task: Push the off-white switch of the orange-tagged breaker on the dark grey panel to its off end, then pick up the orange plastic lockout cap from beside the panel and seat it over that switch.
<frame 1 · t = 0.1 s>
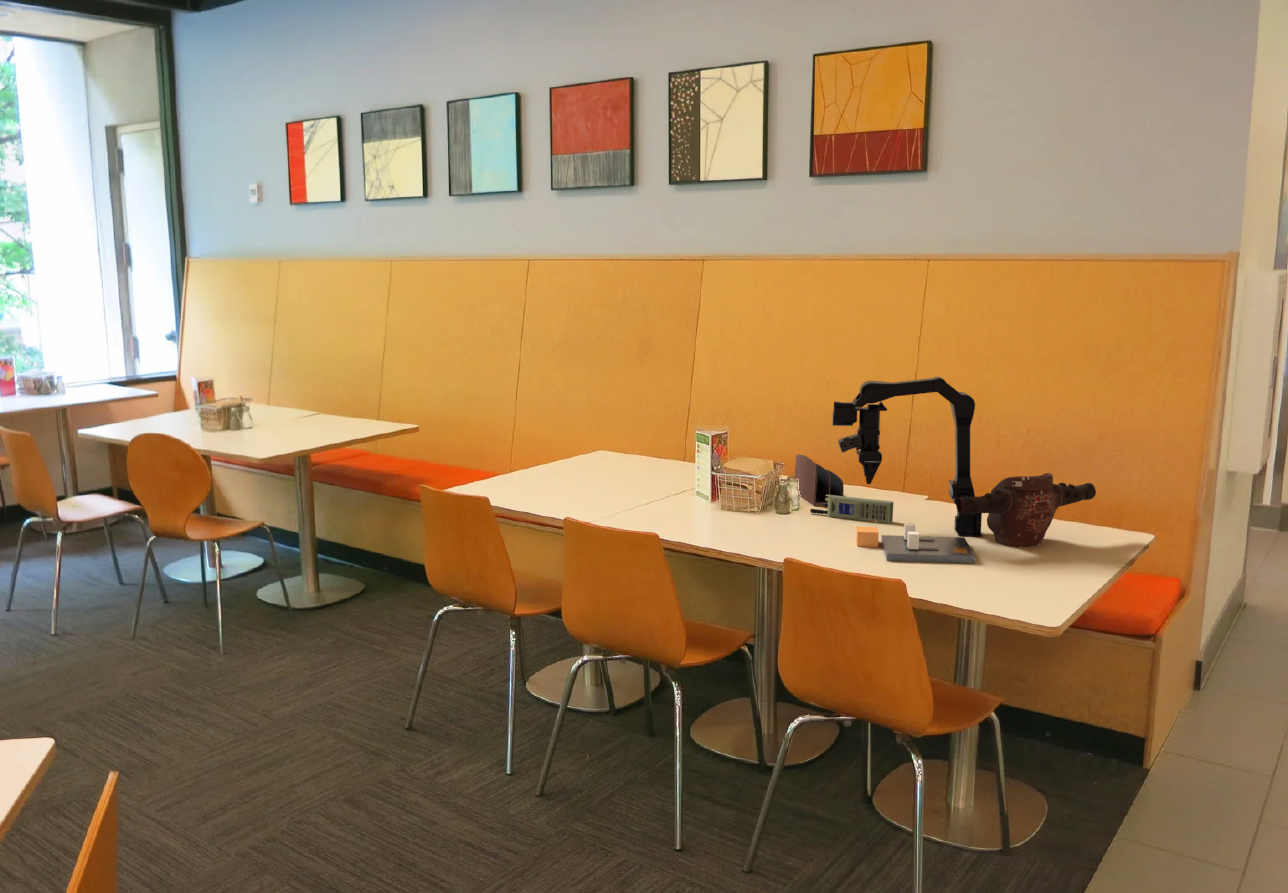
hand: (867, 480, 297), 15 cm above the table, tool pointing down, fingers open, 9 cm apart
lockout cap: (866, 543, 287), on the table
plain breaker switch: (909, 531, 282), point 4 cm above the table, slide at 0.0 cm
letter holder: (818, 499, 340), on the table
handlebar: (1023, 544, 285), on the table
handheld radio: (850, 519, 314), on the table
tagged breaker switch: (913, 540, 274), point 4 cm above the table, slide at 0.0 cm
breaker panel: (926, 552, 278), on the table
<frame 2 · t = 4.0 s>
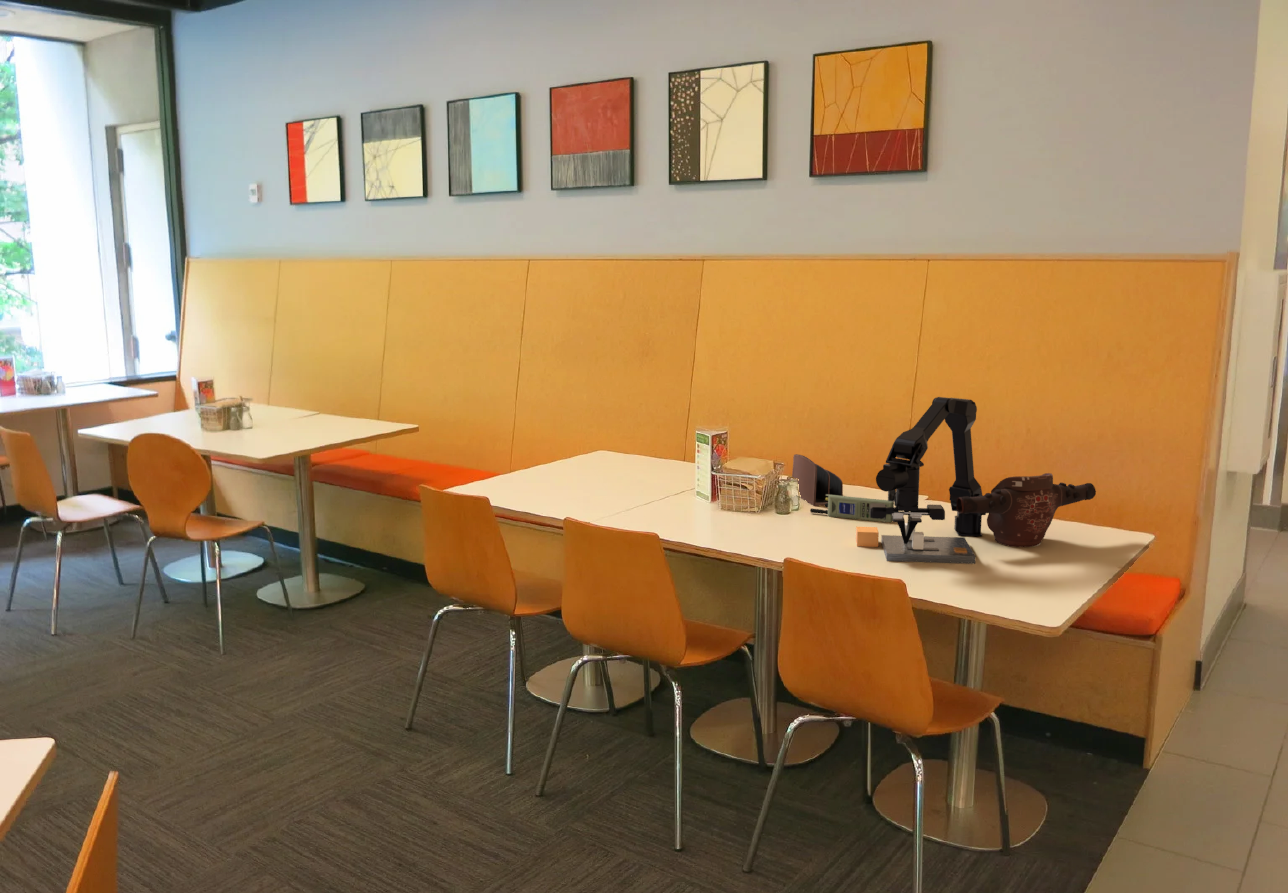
hand: (905, 543, 274), 3 cm above the table, tool pointing down, fingers closed
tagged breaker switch: (917, 540, 273), point 4 cm above the table, slide at 1.2 cm, touching gripper
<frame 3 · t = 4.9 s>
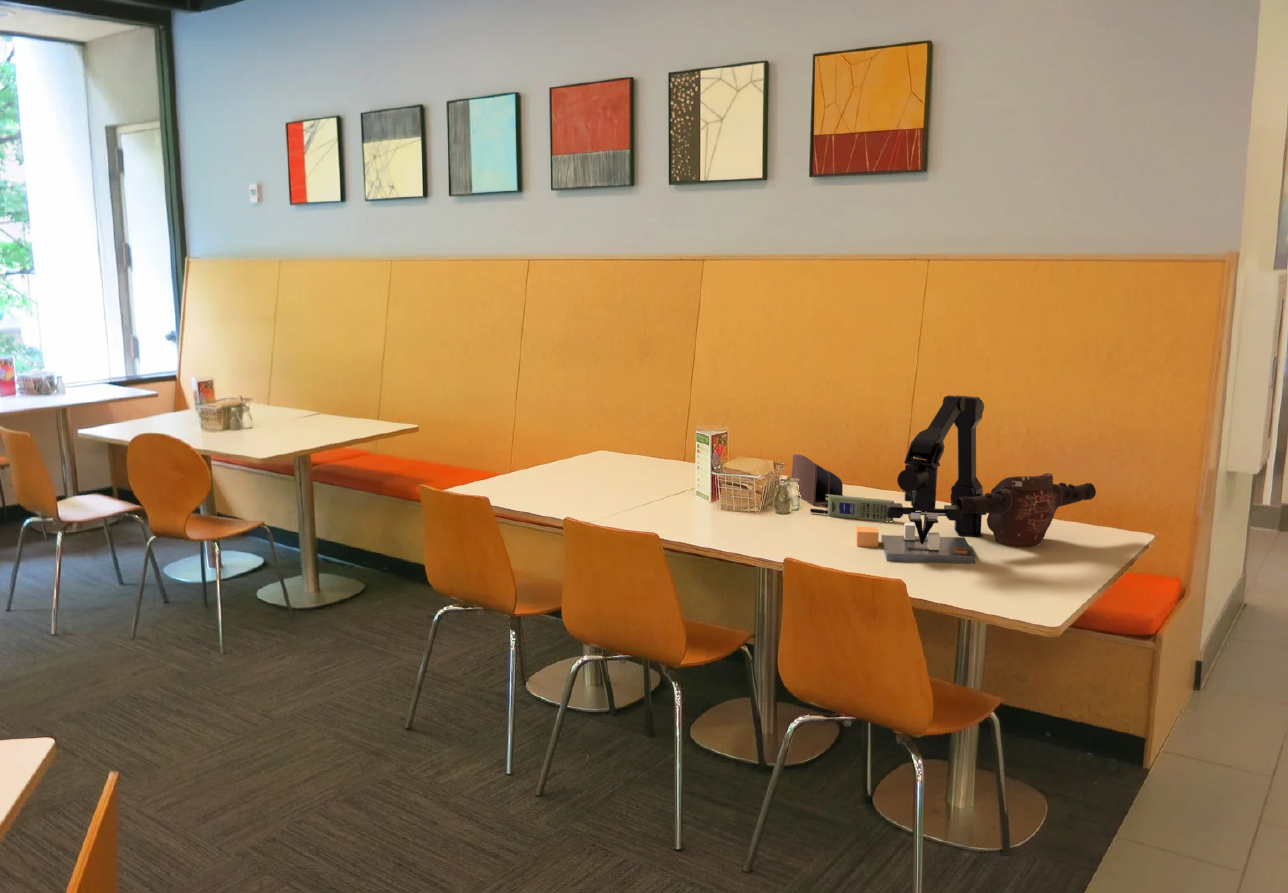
hand: (921, 543, 274), 3 cm above the table, tool pointing down, fingers closed
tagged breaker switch: (933, 541, 273), point 4 cm above the table, slide at 5.2 cm, touching gripper
everything else where it was.
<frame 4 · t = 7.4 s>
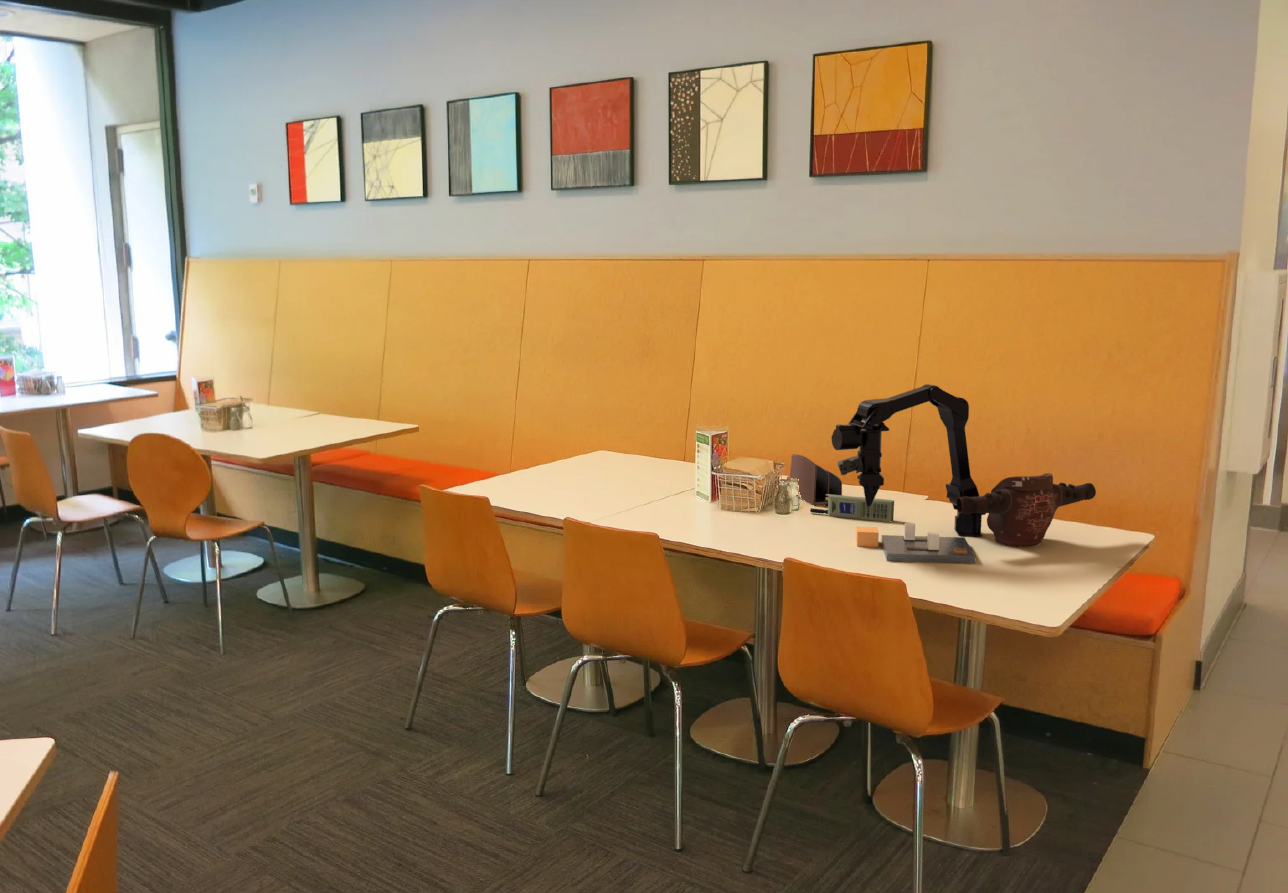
hand: (868, 504, 284), 11 cm above the table, tool pointing down, fingers closed
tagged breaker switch: (933, 541, 273), point 4 cm above the table, slide at 5.1 cm
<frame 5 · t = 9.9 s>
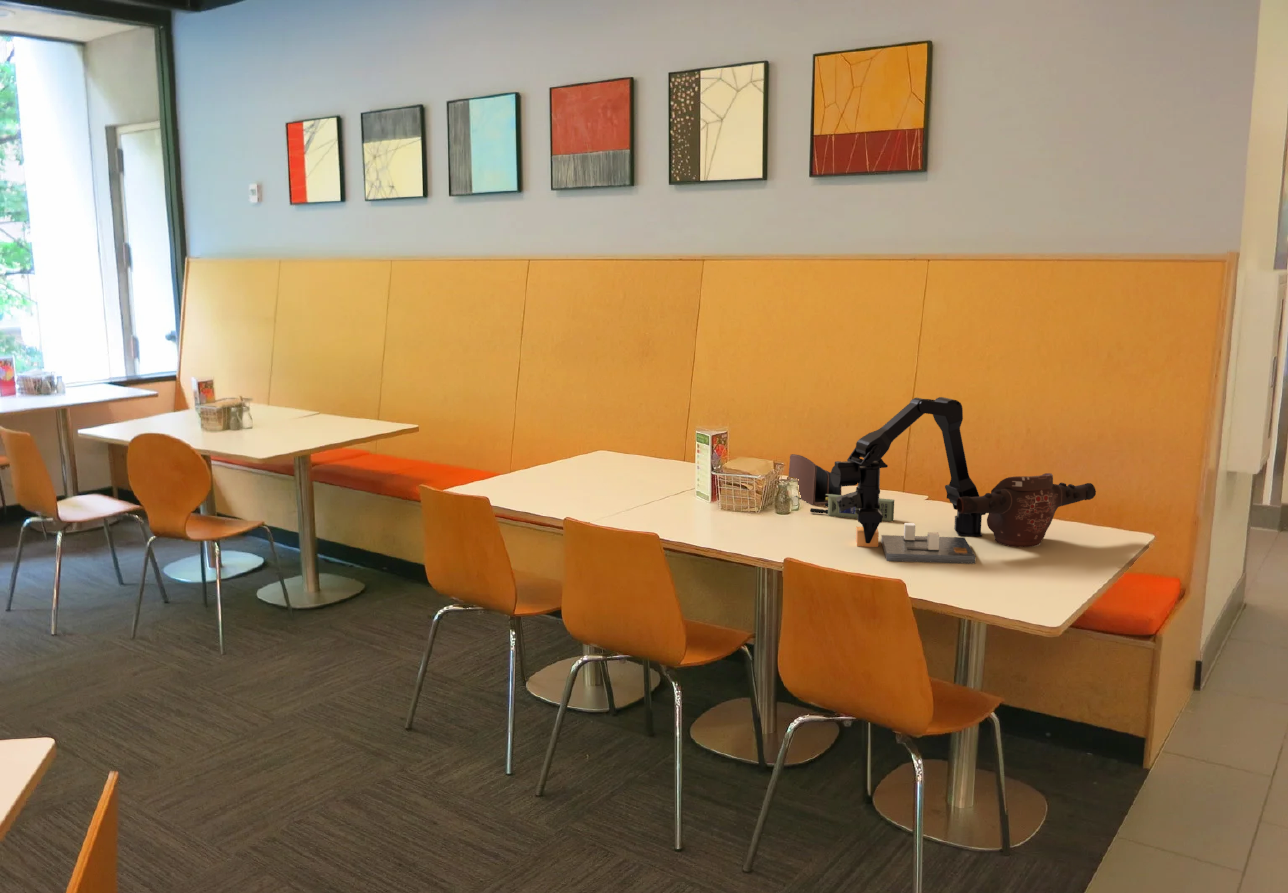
hand: (867, 540, 286), 1 cm above the table, tool pointing down, fingers closed on lockout cap, 6 cm apart
lockout cap: (866, 543, 287), on the table, touching gripper
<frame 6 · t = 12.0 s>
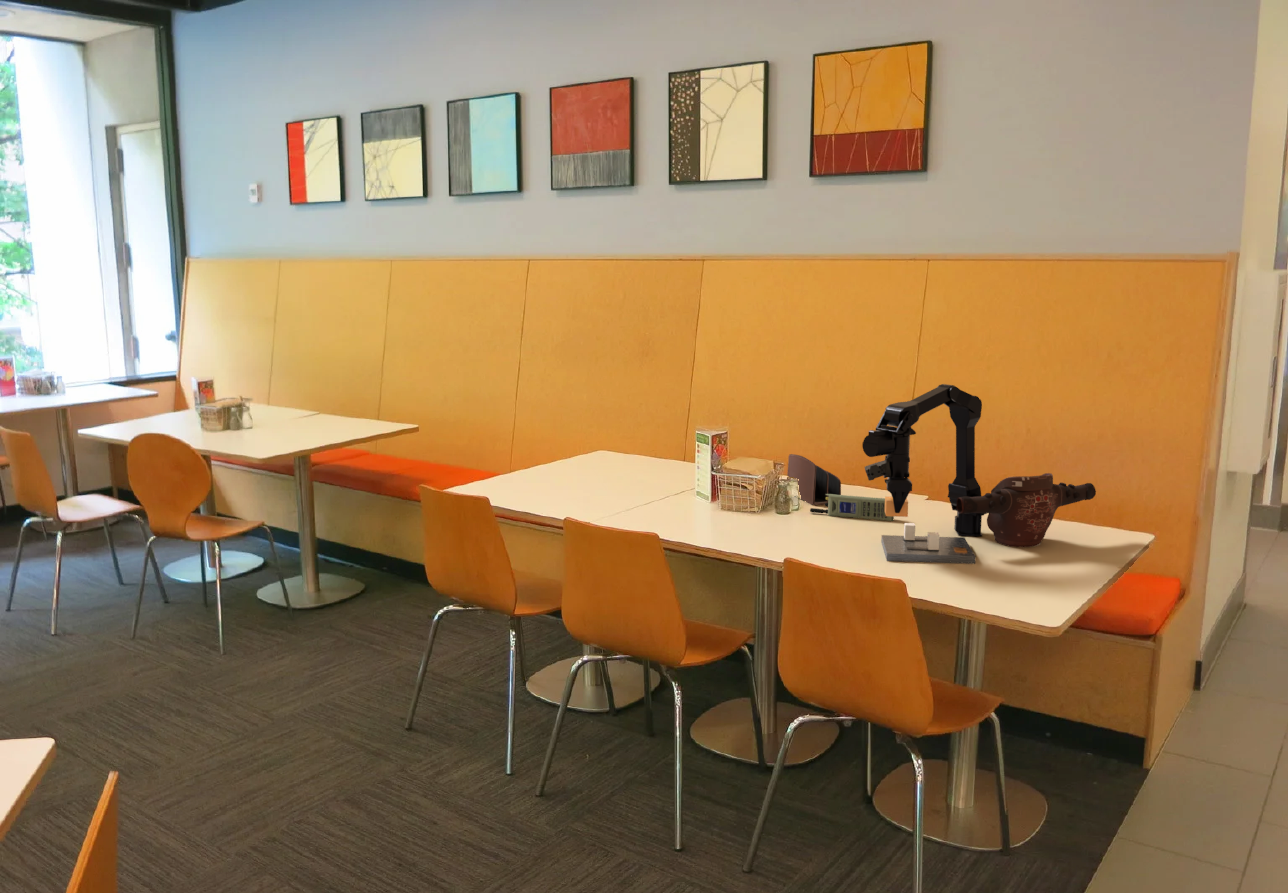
hand: (896, 510, 279), 11 cm above the table, tool pointing down, fingers closed on lockout cap, 6 cm apart
lockout cap: (896, 513, 279), point 10 cm above the table, touching gripper
when the fingers open (5 cm above the table, at t = 14.4 s): lockout cap drops 1 cm, resting on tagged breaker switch.
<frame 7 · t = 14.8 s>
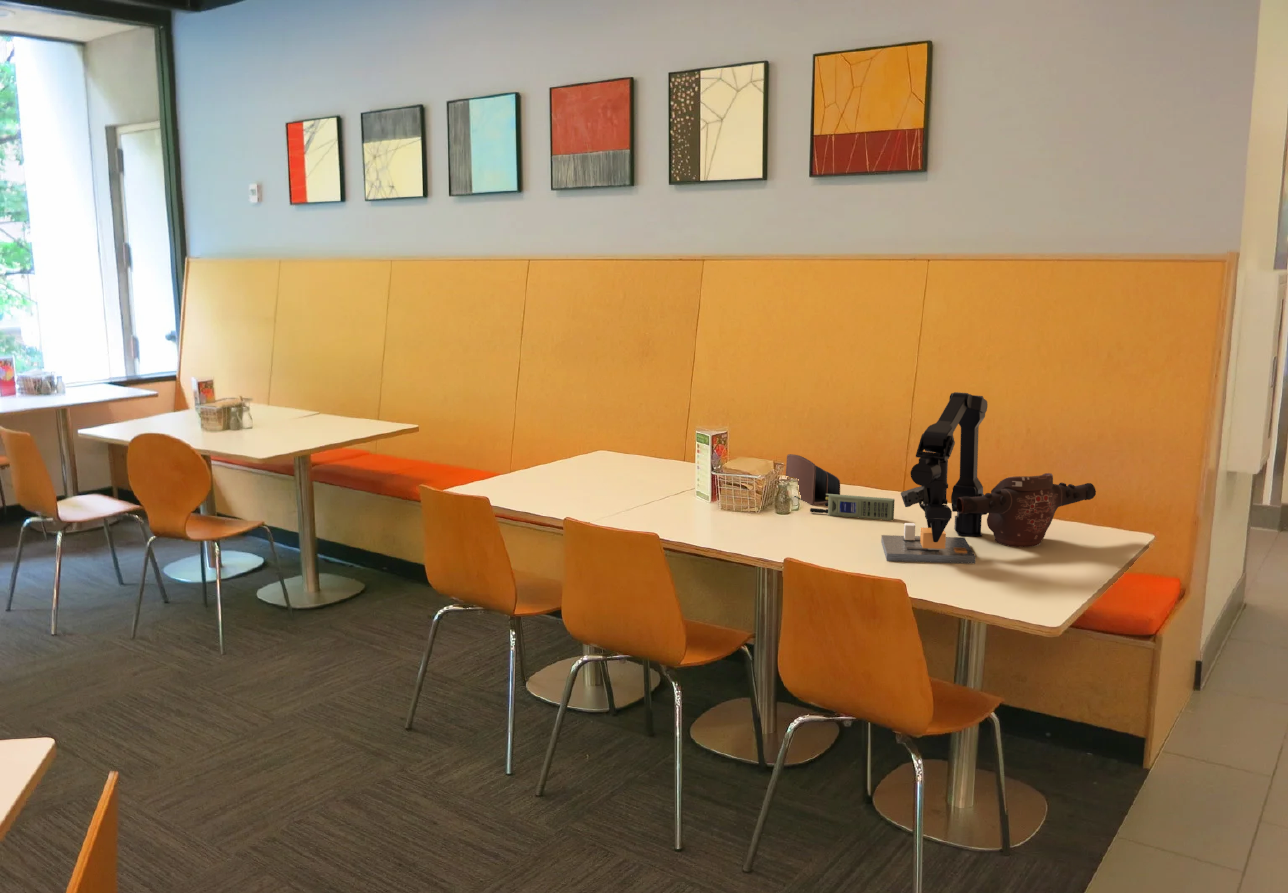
hand: (933, 537, 273), 5 cm above the table, tool pointing down, fingers open, 9 cm apart
lockout cap: (932, 545, 273), point 3 cm above the table, touching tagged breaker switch
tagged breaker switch: (933, 541, 273), point 4 cm above the table, slide at 5.1 cm, touching lockout cap
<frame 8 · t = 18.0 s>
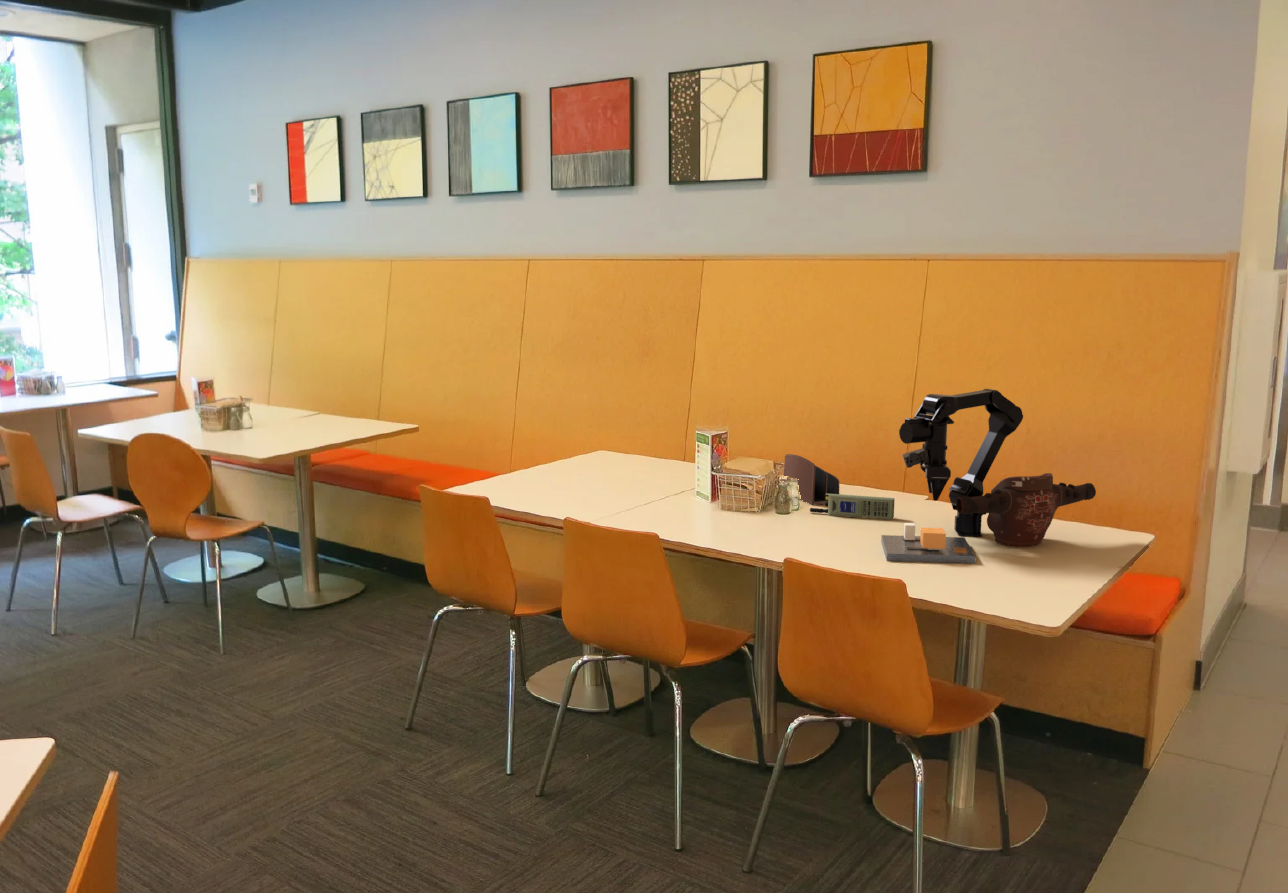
hand: (933, 496, 289), 12 cm above the table, tool pointing down, fingers open, 9 cm apart
at the end: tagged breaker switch slide at 5.0 cm; lockout cap 0.1 cm from the target spot, point 3.1 cm above the table; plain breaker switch slide at 0.0 cm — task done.
